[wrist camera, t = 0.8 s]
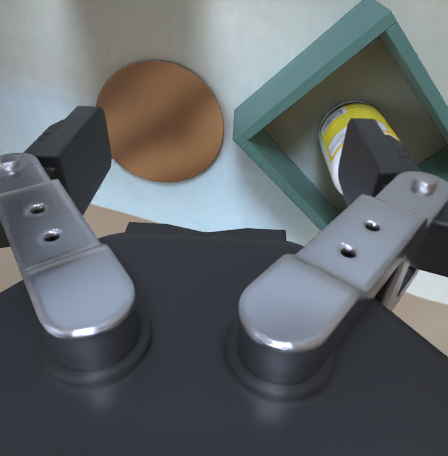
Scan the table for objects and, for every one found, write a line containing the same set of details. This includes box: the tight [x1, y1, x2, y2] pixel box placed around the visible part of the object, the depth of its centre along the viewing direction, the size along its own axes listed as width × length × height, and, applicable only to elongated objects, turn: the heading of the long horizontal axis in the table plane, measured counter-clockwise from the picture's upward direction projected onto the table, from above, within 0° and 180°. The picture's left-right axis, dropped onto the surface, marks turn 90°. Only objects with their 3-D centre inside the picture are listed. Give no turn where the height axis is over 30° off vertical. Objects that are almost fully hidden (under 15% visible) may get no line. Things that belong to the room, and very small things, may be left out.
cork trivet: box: [96, 60, 224, 182], centre depth 35 cm, size 11×11×1 cm
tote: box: [233, 0, 448, 231], centre depth 32 cm, size 16×13×6 cm
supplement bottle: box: [318, 100, 407, 195], centre depth 30 cm, size 5×5×10 cm
